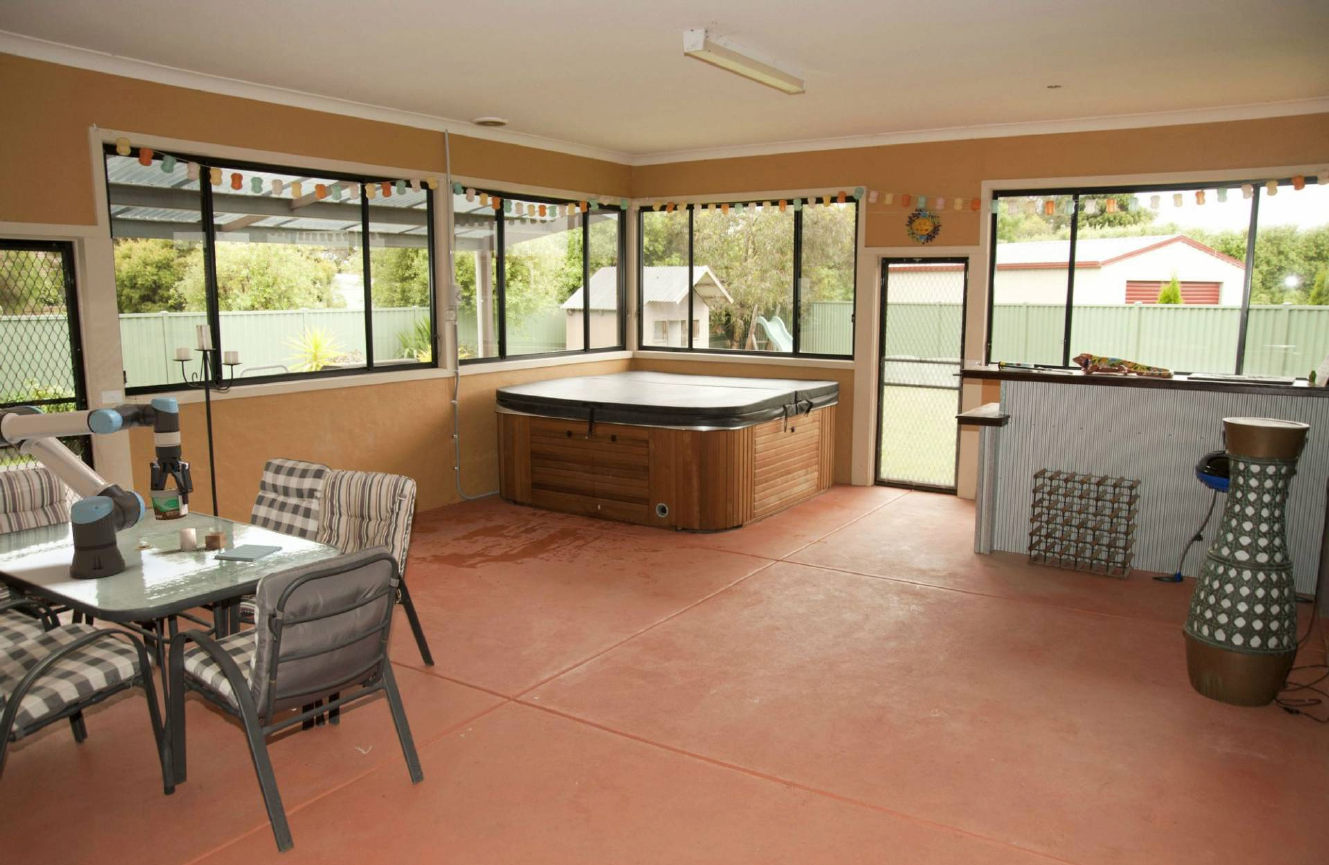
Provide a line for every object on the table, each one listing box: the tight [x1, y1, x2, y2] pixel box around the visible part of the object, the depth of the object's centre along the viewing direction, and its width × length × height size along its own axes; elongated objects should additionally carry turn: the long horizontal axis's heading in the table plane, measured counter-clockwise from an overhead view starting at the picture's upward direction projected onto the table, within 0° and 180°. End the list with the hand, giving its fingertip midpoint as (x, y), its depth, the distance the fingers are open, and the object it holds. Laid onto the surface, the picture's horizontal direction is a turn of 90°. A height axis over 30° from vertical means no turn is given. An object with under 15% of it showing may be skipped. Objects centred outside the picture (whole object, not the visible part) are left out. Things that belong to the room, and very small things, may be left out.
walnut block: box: [204, 531, 228, 550], centre depth 323 cm, size 5×5×5 cm
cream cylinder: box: [178, 527, 198, 552], centre depth 321 cm, size 5×5×7 cm
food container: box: [148, 487, 187, 521], centre depth 305 cm, size 12×6×10 cm, turn 143°
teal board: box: [214, 543, 283, 562], centre depth 315 cm, size 15×15×1 cm
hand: (173, 513), depth 305 cm, fingers closed on food container, 7 cm apart
